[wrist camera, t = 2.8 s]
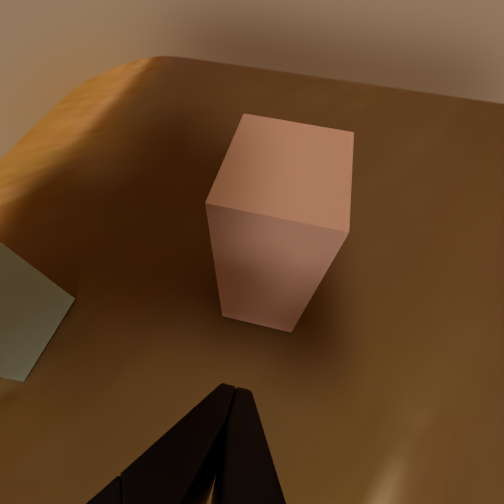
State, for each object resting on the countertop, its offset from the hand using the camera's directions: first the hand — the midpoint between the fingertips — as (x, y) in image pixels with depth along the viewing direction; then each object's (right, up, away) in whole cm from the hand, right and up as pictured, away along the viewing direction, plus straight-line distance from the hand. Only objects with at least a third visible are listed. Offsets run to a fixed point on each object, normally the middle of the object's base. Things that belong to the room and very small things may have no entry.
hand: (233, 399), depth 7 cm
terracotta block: (+1, +2, +9) cm, 10 cm away
